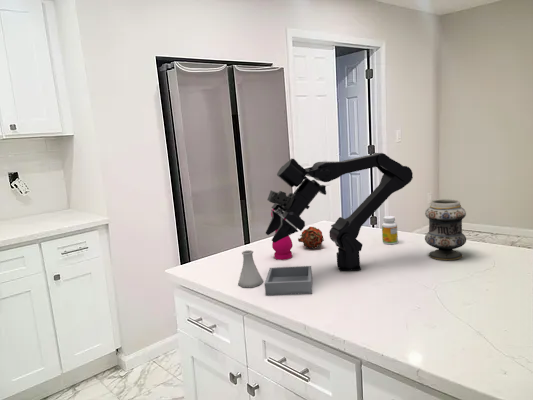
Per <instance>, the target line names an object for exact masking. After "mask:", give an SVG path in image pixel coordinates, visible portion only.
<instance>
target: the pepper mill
mask: <svg viewBox="0 0 533 400" xmlns="http://www.w3.org/2000/svg"><path fill="white" fill-rule="evenodd" d="M272 210H273V211H274V209H272ZM270 215H271V218H272V211H271V212H270ZM284 220H286V219H285V218H284ZM277 230H278V229H277ZM277 230H276V231H274V232H275V233H276V232H277ZM275 233H274V234H275ZM271 244H272V245H271V247H272V250H273V251H275V252H274V253H273V254H274V259H275V260H279V261H285V260H289V259H291V258H292V257H293V251H292V248H293V242H292V239H291V236H290V235H289V236H287V237H285V238H283V239H281V240H279V241H277V242H275V243H274V242H273V241H272V243H271Z"/></svg>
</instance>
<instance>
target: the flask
mask: <svg viewBox="0 0 533 400" xmlns="http://www.w3.org/2000/svg"><path fill="white" fill-rule="evenodd" d="M253 253H254V251H253V250H250V249H249V250H248V249H247V250H243V251H242V252H241V255H242V257H243V258H242V259H243V262H242V268H241V272H240V276H239V280H238V283H237V285H238V286H240V287H242V288H250V289H251V288H255V287H258V286H260V285H261V284H262V283H263V282H264V279H263V278H262V276H261V274H260V272H259V270H258V268H257V266H256V263H255V261H254V256H253V255H254V254H253Z"/></svg>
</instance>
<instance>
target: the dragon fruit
mask: <svg viewBox="0 0 533 400" xmlns="http://www.w3.org/2000/svg"><path fill="white" fill-rule="evenodd" d="M297 241H298V242H299V243H302V244H303V246H304V247H305V248H310V249H317V248H318V247H319V246H322V244H323V242H325V239H324V235H323V232H322V231H321V230H320V228H317V227H315V226H309V227H308V228H306V229H304V230H302V231H301V234H300V235H299V237H298V238H297Z"/></svg>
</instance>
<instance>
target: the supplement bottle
mask: <svg viewBox="0 0 533 400" xmlns="http://www.w3.org/2000/svg"><path fill="white" fill-rule="evenodd" d="M395 221H396V216H394V215H393V216H392V215H385V216H383V223H382V224H381V233H382V235H381V237H382V243H383V244H384V245H391V246H393V245H396V244H398V242H399V238H398V237H399V236H398V235H399V234H398V223H397V222H395Z"/></svg>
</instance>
